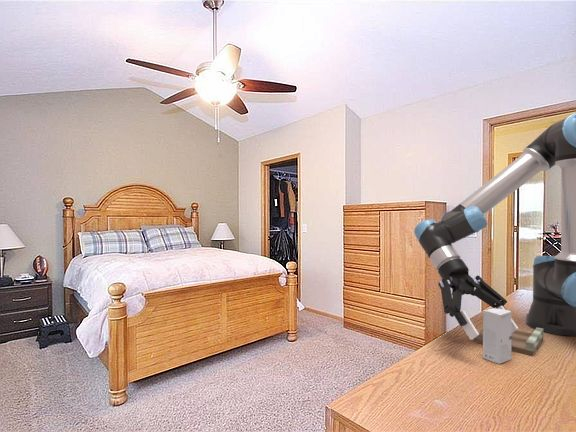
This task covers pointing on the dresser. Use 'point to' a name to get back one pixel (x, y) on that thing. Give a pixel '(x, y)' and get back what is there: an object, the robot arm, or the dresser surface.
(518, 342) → the walnut board
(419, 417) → the dresser surface
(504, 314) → the skincare box
